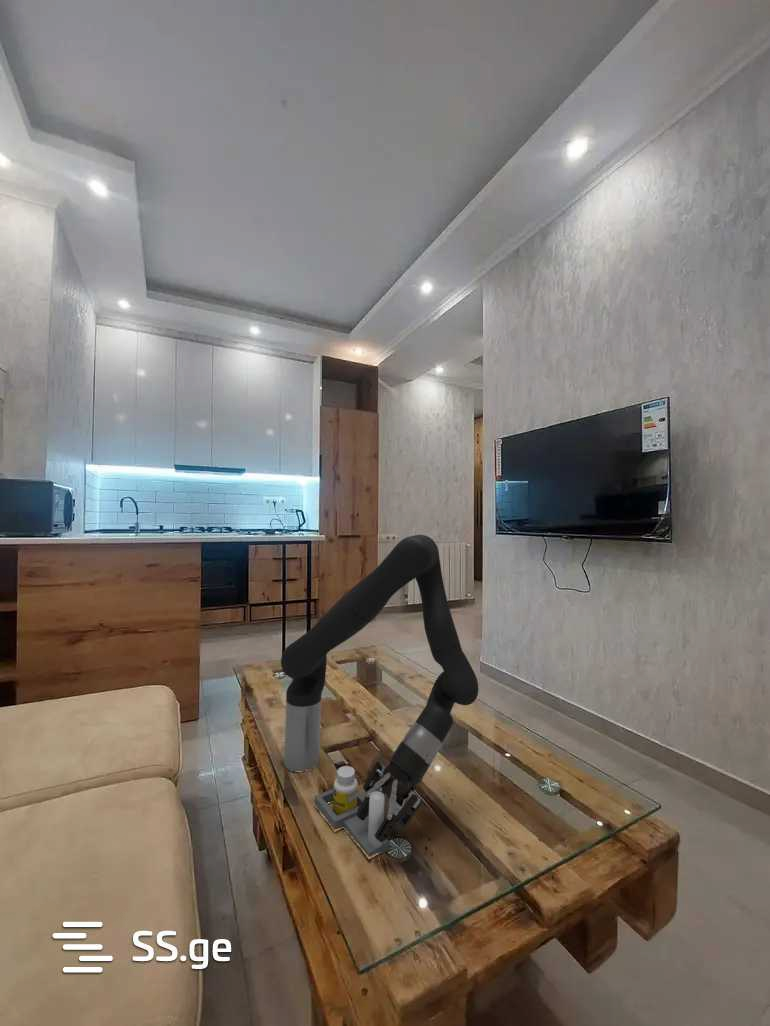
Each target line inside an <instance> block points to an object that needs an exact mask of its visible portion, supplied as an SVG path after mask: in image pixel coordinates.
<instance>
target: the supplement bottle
mask: <svg viewBox="0 0 770 1026" xmlns="http://www.w3.org/2000/svg"><path fill="white" fill-rule="evenodd" d="M358 786H359V783H358V780H357V779H356V771H355V769H354V768H353V767H352V766H349V765H344V766H341V767H338V769H337V771H336V778H335V780H334V782H333V788H334V790H333V803H332V811H333V812H334V813H335V814H336V816H338V815H340V814H343V813H345V812H347V811H349V810H351V809H354V808H356V807H357V790H358V788H359V787H358ZM358 791H359V790H358Z"/></svg>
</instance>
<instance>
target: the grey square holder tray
mask: <svg viewBox="0 0 770 1026" xmlns="http://www.w3.org/2000/svg"><path fill="white" fill-rule="evenodd" d="M333 790H334V787H332V788H331V789H329V790H326V791H324V792H321V793H318V794H317V795H314V800H313V801H314V803H315V805H316V806H317V808H318V809H319V810H320V811H321V813H322V814H323V815H324V816H325V818H326V819H327V820H328V822H329V823H330V824H331V826H332V827H333V828H334V830H335V829H338V828H341V827H344V828H345V829H346V830H347V831H348V833H349V834H350V835H351V836H352V837H353V839H354V840H355V841H356V842H357V843H358V844H359V845H360V847H361V848H362V849H363V850H364V851H365V853H366V854H367V855H368V856H369V857H370V856H372V855H374V854H376V853H380V852H384V853H385V852H387V851H389V850H390V843H391V842H390V840H389V839H388V838H387V839H386V840H385V841H383V842H380V841H378V840H377V839H376V838H375V833H376V832H377V830H378V828H379V827H380V825H381V824H382V822H383V820H384V819H385V817H384V816H385V797H384V794H383V793H382V792H379V791H375V792H372V793H371V794H370V799H369V813H368V815H367V817H366V818H365V820H363V821H362V820H361V819H359V818H358V817H357V815H356V814H357V811H358V808H359V806H360V805H361V803H362V802H363V800H364V799H365V797H366V796H364V795H363V794H362V793H361V792H360V790H357V807H356V808H354V809H351V810H349V811H347V812H345V813H343V814H340V815H338V816H336V814H335V813H334V812H333V808H331V807H330V805H329V804H327V803H328V802H332V801H333ZM314 803H313V804H314Z"/></svg>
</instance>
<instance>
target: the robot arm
mask: <svg viewBox="0 0 770 1026" xmlns="http://www.w3.org/2000/svg"><path fill="white" fill-rule="evenodd" d="M442 573H443V572H442V567H441V559H440V552H439V547H438V545H437V543H436V542H435V540H434V539H432V538H431V537H430V536H428V535H425V534H416V535H411V536H410V535H409V536H406V537H404V538H403V539H401V540H400V541H398V543H397V544H396V545H395V546H394V547H393V548H392V549H391V551H390V552H389V553H388V555H386V557H384V559H383V560H382V561H381V562H380V564H378V566H377V567H376V568H375V569H374V570H373V571H371V572H370V573H368V575H366V576H365V577H363V578H362V579H361V580H359V582H357V583H356V584H355V585H354V586H352V588H351V589H349V590H348V591H347V592H345V594H344V595H343V596H342V597H340V598H339V599H338V600H337V601H336V602H335V603H334V604H333V605H332V606H331V607H330V608H329V610H327V612H326V613H324V614H323V616H322V617H320V619H319V620H318V621H317V622H316V623H315V624H314V626H313V627H311V628H310V629H309V630H308V631H306V632H305V633H304V634H303V635H301V636H300V637H299V638H297V639H296V640H295V641H293V642H292V643H290V644H289V645H287V646H286V647H285V649H284V651H283V653H282V655H281V659H280V666H281V670H282V672H283V673H284V674H285V676H287V677H289V678H291V679H292V680H291V683H290V684H289V685H288V687H287V689H286V695H285V698H286V699H285V721H284V722H285V723H284V724H285V727H284V729H285V730H284V752H283V753H284V755H283V765H284V768H285V767H286V768H287V769H286V768H285V769H286V770H288V769H289V770H292V771H306V770H310V769H313V768H314V767H315V768H317V766H319V764H320V747H321V743H320V742H321V721H322V720H321V717H322V694H323V691H324V688H325V683H326V675H327V674H326V673H327V659H328V658H327V654H328V653H329V652H331V651H332V650H334V649H335V648H336V647H338V646H340V645H341V644H343V643H344V642H346V641H347V640H349V639H351V638H352V637H353V636H355V635H356V634H358V633H359V632H360V631H361V630H363V629H364V628H365V627H366V626H367V625H369V623H371V622H372V621H373V620H374V619H375V618H376V617H377V616H378V615H379V614H380V613H381V612H382V610H383V609H384V608H385V606H386V605H387V603H388V602H389V601H390V599H391V598H392V597H393V596H394V595H395V594H396V593H397V592H398V591H400V590H401V589H402V588H403V587H405V586H406V585H407V584H409V583H410V582H411V581H413V580H414V579H415V580H416V583H417V586H418V590H419V593H420V598H421V608H422V619H423V625H424V626H423V627H424V632H425V635H426V640H427V642H428V646H429V650H430V652H431V655H432V659H433V660H434V661H435V663H437V664H438V665H439V666H440V668H441V669H442V670H443V671H442V672H441V673H440V674H439V675H438V676H437V678H436V679H435V681H434V683H433V685H432V688H431V690H430V694H429V696H428V699H427V702H426V705H425V707H424V708H423V709H422V711H421V712H420V714H419V716H418V717H417V719H416V720H415V722H414V723H413V725H412V726H411V727H410V728H409V729H408V731H406V734H405V735H404V737H403V738H402V739H401V742H400V743H399V745H398V746H397V748H396V749H395V751H394V752H393V753H392V755H391V757H390V762H389V764H388V765H386V766H384V765H383V764H382V763H381V762H380V761H376V762H375V764H374V765H373V767H372V769H371V771H370V773H369V774H368V777H367V778H366V780H365V782H364V784H363V786H362V788H363V790H364V792H365V796H364V797H365V799H364V800H363V802H362V803H361V805H360V806H359V808H358V811H357V814H356V815H357V817H358V818H359V819H361V820H362V821H363V820H365V818H366V817H367V815H368V813H369V799H370V794H371V793H372V792H375V791H379V792H382V793H383V794H384V798H385V797H386V796H387V797H388V798H389V800H388V806H389V807H388V812H387V816H386V817H384V820H383V822H382V824H381V825H380V827H379V828H378V830H377V832H376V833H375V838H376V839H377V840H378V841H380V842H383V841H385V840H386V839H388V837H389V835H390V833H391V832H392V830H394V827H395V826H400V827H401V828H403V829H404V828H406V826H407V825H408V823H409V822H410V821H411V819H412V818H413V817H414V815H415V814H416V812H418V810H419V809H420V807H421V806H422V805H423V800H422V799H421V798H420V797H419V796H418V795H417V794H416V793H415V788H416V786H417V785H418V784H420V783H421V781H422V780H423V778H424V776H425V775H426V773H427V771H428V770H429V768H430V767H431V765H432V763H433V762H434V760H435V758H436V757H437V755H438V753H439V751H440V748H441V746H442V744H443V742H444V740H445V739H446V737H447V736H448V733H449V732H450V731H451V729H452V727H453V726H454V718H453V716H452V714H451V712H452V710H453V707H454V706H455V704H457V705H460V706H470V705H472V704H473V703H475V702H476V700H477V698H478V696H479V682H478V679H477V675H476V673H475V671H474V669H473V667H472V665H471V663H470V661H469V660H468V658H467V656H466V654H465V652H464V651H463V648H462V645H461V642H460V638H459V635H458V632H457V629H456V626H455V622H454V619H453V616H452V612H451V609H450V605H449V602H448V598H447V594H446V590H445V584H444V580H443V579H444V578H443V574H442ZM318 763H319V764H318ZM315 768H314V769H315ZM314 769H313V770H314ZM289 770H288V771H289ZM292 771H291V772H292ZM310 771H311V770H310Z"/></svg>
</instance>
